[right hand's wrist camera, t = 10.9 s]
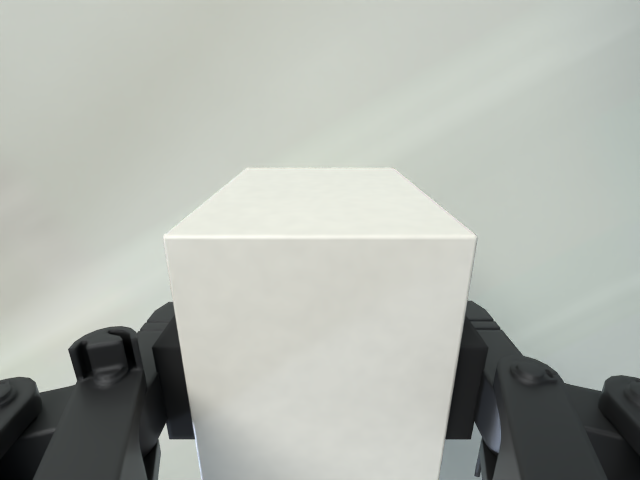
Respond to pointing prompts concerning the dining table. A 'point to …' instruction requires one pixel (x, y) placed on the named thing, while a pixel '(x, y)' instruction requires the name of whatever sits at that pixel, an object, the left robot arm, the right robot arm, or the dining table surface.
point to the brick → (320, 324)
